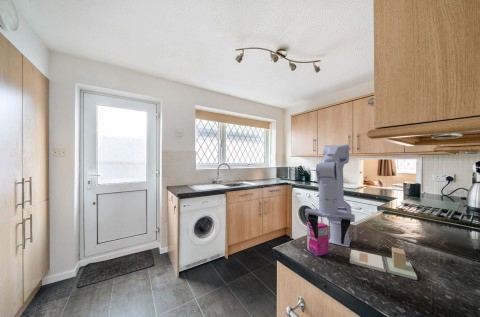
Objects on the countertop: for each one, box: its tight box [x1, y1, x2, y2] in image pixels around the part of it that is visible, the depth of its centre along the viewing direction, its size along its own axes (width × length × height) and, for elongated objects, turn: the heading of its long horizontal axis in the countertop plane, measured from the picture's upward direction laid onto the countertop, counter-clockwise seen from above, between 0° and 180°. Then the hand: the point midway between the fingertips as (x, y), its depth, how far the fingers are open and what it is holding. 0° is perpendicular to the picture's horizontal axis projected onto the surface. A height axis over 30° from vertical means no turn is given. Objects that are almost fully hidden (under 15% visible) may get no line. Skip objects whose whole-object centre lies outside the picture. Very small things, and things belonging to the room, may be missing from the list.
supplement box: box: [306, 220, 330, 257], centre depth 72 cm, size 6×6×12 cm
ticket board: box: [349, 249, 387, 273], centre depth 65 cm, size 10×10×1 cm
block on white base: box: [383, 246, 418, 281], centre depth 60 cm, size 10×7×6 cm
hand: (329, 240), depth 59 cm, fingers open, 7 cm apart
